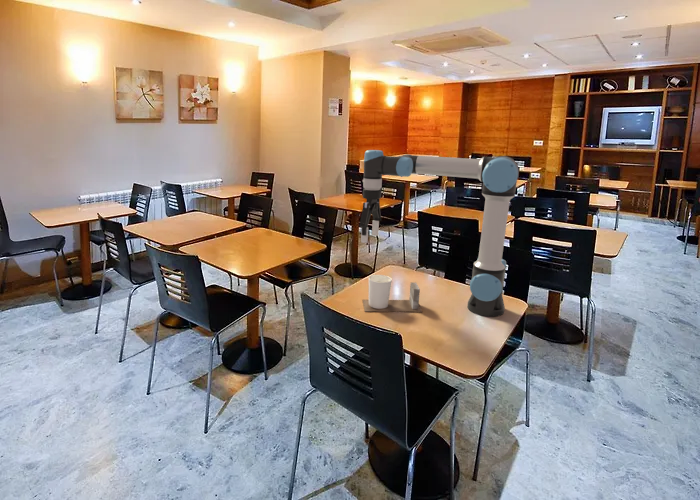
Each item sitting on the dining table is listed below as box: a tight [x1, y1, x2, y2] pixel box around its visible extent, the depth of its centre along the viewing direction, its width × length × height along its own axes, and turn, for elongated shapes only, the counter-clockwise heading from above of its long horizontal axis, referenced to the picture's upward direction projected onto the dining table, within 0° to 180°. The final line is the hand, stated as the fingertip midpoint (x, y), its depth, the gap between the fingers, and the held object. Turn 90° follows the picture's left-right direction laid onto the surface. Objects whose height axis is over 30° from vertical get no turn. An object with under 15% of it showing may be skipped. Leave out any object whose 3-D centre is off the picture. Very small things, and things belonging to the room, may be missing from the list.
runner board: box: [362, 282, 423, 313], centre depth 188 cm, size 24×12×9 cm, turn 93°
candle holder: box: [368, 274, 393, 309], centre depth 187 cm, size 10×10×12 cm
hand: (369, 238), depth 187 cm, fingers open, 13 cm apart
